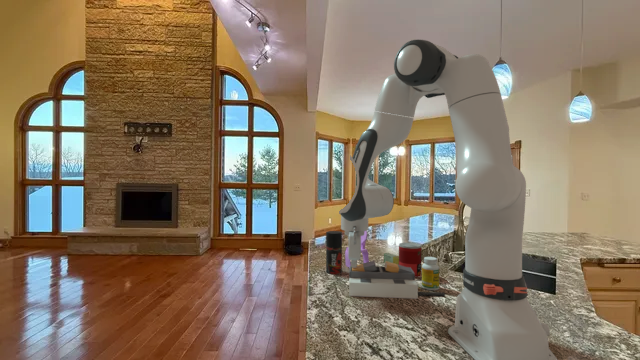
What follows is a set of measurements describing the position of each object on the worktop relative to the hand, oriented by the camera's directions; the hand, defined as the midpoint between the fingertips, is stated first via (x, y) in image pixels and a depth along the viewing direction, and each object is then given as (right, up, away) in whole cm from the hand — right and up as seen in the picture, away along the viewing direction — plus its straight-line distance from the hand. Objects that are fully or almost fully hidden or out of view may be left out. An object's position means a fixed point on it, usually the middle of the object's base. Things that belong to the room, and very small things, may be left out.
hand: (354, 266), depth 102 cm
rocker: (+4, -1, -1) cm, 4 cm away
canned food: (+22, -7, +14) cm, 27 cm away
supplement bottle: (+25, -7, -1) cm, 25 cm away
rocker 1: (+13, -1, -2) cm, 14 cm away
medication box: (+20, -7, +26) cm, 34 cm away
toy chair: (+4, -7, +23) cm, 25 cm away
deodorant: (-6, -7, +16) cm, 19 cm away
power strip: (+12, -7, -4) cm, 15 cm away
